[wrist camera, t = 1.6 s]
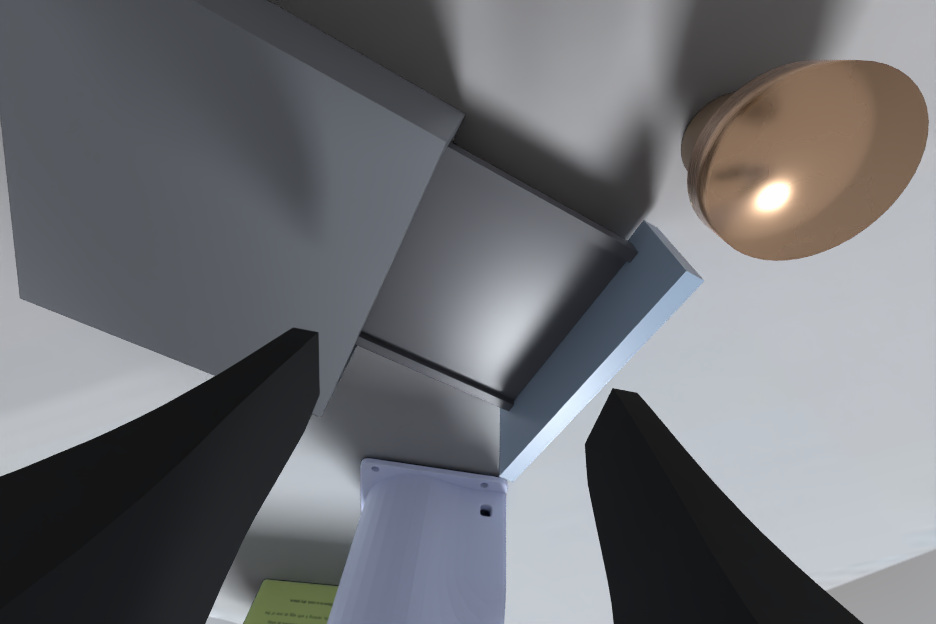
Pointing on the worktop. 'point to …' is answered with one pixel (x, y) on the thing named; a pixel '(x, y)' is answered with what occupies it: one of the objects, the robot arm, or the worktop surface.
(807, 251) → the puck
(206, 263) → the box
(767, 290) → the worktop surface
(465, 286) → the tray
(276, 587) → the protein box
